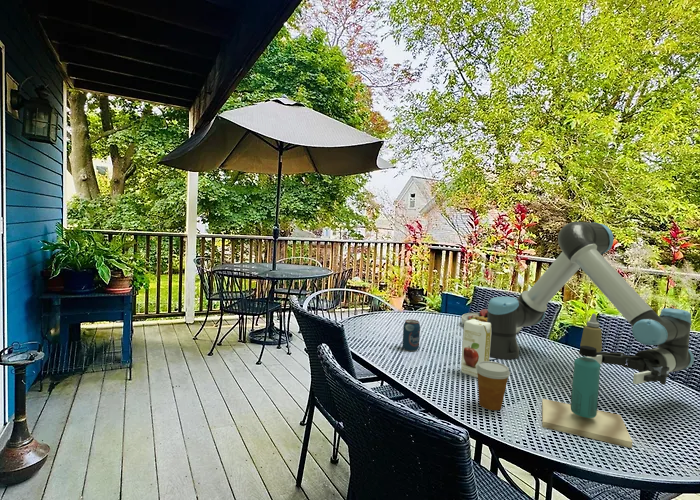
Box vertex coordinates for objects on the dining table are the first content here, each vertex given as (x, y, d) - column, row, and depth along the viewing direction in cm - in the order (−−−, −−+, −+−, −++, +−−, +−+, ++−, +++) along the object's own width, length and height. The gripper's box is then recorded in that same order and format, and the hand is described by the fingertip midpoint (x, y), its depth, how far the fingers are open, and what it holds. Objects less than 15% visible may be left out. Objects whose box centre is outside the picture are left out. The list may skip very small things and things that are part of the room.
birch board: (542, 426, 107) (542, 421, 107) (542, 403, 122) (542, 398, 122) (631, 447, 99) (632, 442, 99) (620, 420, 113) (620, 414, 113)
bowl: (531, 338, 194) (533, 322, 194) (470, 335, 195) (471, 319, 194) (508, 322, 224) (509, 309, 224) (454, 320, 225) (455, 306, 224)
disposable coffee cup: (468, 398, 123) (471, 360, 122) (498, 398, 124) (501, 360, 123) (481, 413, 114) (484, 372, 113) (513, 413, 114) (516, 372, 113)
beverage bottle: (600, 425, 106) (607, 352, 105) (573, 421, 108) (580, 349, 106) (591, 414, 113) (597, 344, 111) (565, 410, 114) (571, 342, 113)
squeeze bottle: (598, 353, 174) (602, 313, 173) (603, 359, 166) (607, 317, 165) (577, 351, 177) (581, 310, 175) (581, 356, 169) (585, 314, 168)
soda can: (411, 353, 163) (413, 324, 162) (398, 348, 169) (400, 320, 168) (422, 349, 168) (423, 321, 167) (409, 345, 173) (411, 318, 172)
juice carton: (468, 367, 149) (472, 317, 148) (490, 374, 143) (494, 322, 142) (458, 372, 144) (461, 320, 143) (480, 380, 138) (484, 326, 137)
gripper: (701, 390, 111) (656, 401, 102) (611, 360, 134) (568, 367, 125) (704, 364, 111) (659, 373, 102) (613, 338, 133) (570, 343, 124)
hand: (609, 369), depth 113 cm, fingers open, 13 cm apart
